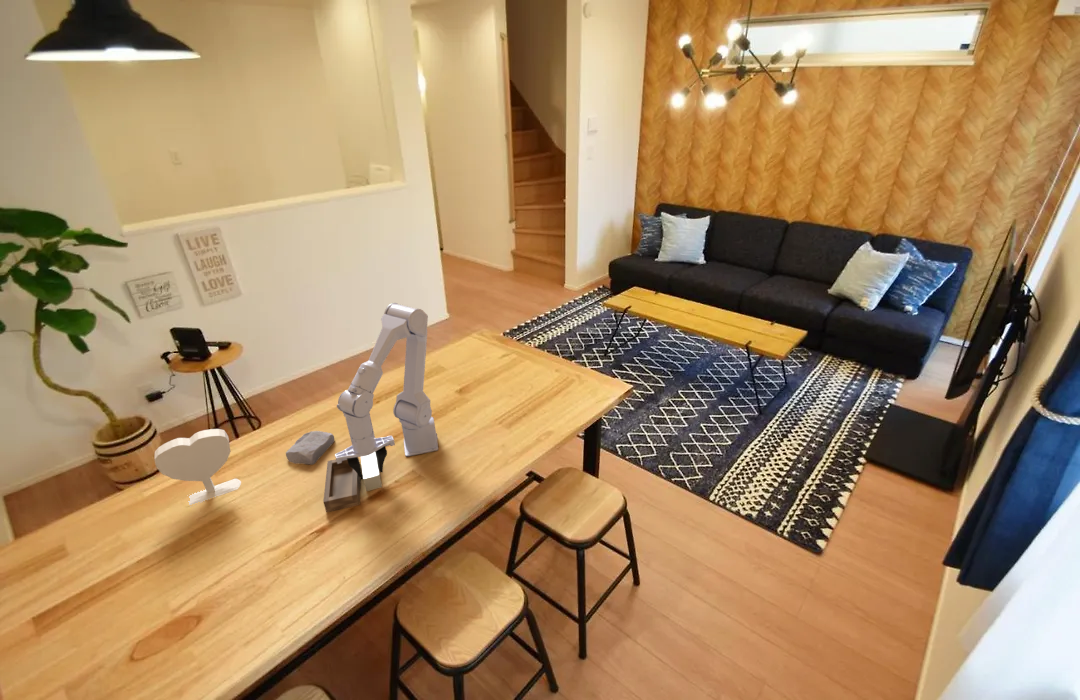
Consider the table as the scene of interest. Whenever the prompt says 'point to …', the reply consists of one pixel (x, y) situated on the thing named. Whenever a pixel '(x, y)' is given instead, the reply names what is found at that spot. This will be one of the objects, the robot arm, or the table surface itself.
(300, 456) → the stone block
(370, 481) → the rectangular block
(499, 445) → the table surface
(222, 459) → the heart sculpture
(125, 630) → the table surface
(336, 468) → the shallow brown tray
